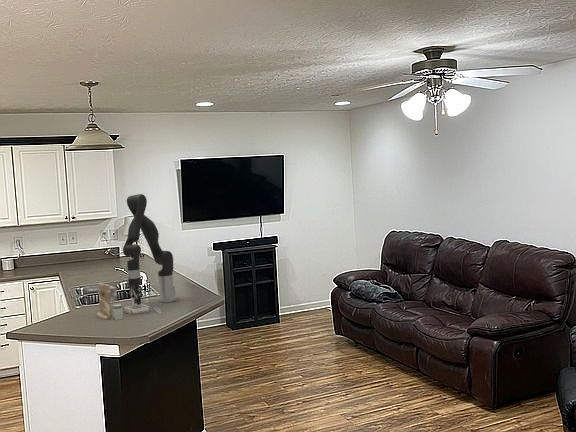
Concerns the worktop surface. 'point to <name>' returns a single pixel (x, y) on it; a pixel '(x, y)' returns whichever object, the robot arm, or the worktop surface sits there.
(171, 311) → the worktop surface
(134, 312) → the tray
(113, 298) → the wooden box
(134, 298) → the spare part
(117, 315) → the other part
